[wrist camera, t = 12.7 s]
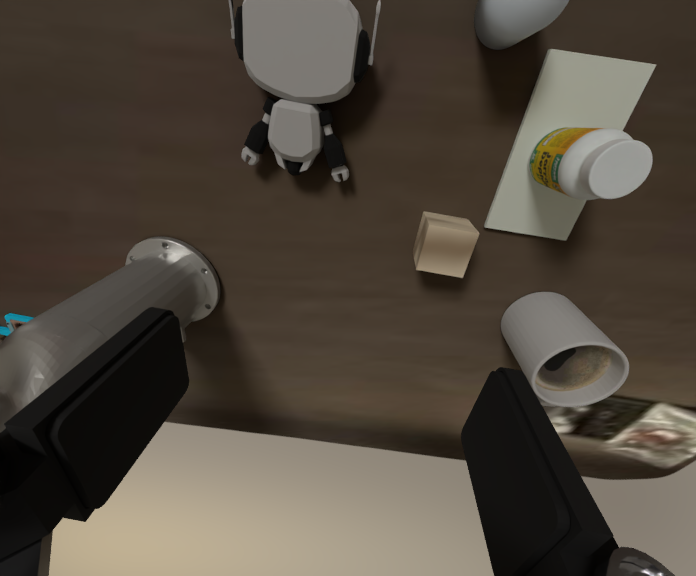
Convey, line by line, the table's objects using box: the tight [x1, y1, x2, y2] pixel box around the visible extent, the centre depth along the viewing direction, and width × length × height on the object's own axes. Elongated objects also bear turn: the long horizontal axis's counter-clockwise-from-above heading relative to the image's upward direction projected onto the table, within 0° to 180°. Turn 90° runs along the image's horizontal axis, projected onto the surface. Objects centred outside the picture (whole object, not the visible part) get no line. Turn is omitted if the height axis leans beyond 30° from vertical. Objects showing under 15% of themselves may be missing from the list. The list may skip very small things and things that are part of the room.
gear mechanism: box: [0, 313, 33, 338], centre depth 49 cm, size 20×5×9 cm
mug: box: [501, 292, 629, 407], centre depth 36 cm, size 11×10×10 cm
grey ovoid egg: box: [474, 0, 569, 50], centre depth 23 cm, size 5×5×6 cm
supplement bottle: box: [528, 127, 653, 200], centre depth 26 cm, size 5×5×10 cm
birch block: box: [413, 212, 479, 278], centre depth 34 cm, size 5×5×5 cm
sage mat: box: [484, 49, 656, 241], centre depth 30 cm, size 16×9×1 cm, turn 172°
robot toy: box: [229, 0, 381, 182], centre depth 29 cm, size 12×4×15 cm
